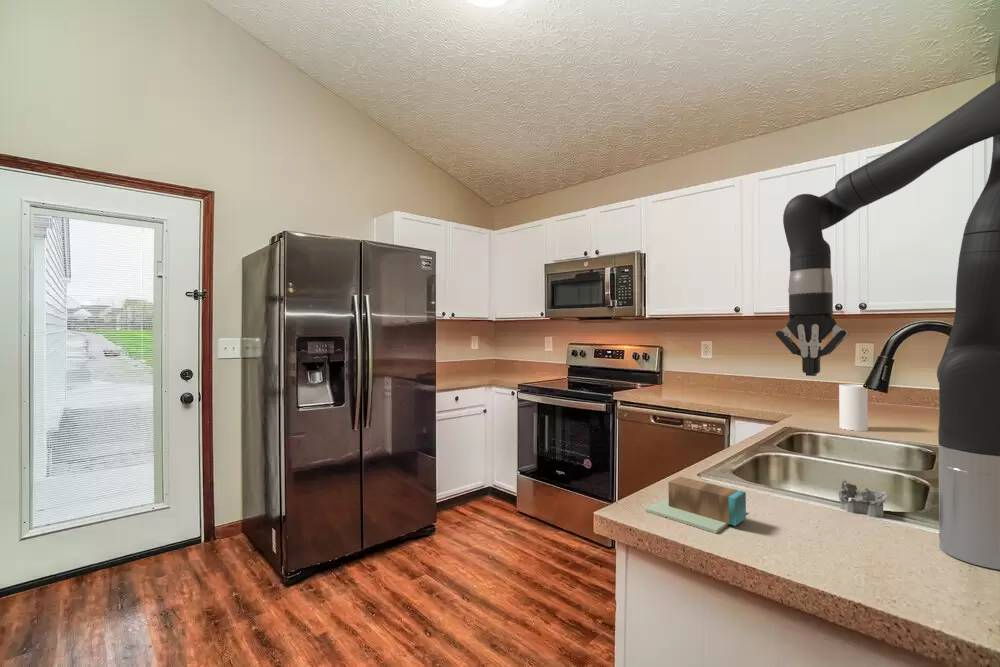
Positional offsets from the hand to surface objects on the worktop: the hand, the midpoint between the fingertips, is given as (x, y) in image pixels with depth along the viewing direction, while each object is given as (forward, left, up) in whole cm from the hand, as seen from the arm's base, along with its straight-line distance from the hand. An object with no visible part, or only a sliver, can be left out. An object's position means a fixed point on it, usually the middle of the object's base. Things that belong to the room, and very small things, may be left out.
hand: (811, 375), depth 94 cm
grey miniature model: (-7, -6, -28) cm, 29 cm away
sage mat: (+15, +21, -27) cm, 37 cm away
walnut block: (+6, +21, -24) cm, 32 cm away
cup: (+10, -96, -27) cm, 100 cm away
